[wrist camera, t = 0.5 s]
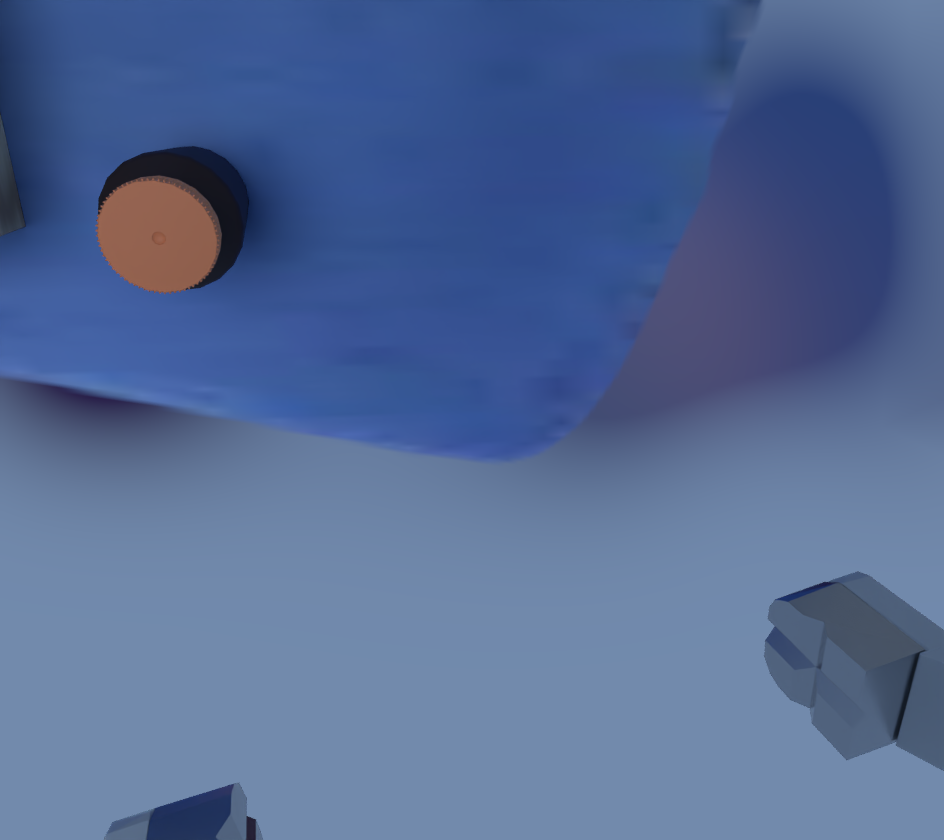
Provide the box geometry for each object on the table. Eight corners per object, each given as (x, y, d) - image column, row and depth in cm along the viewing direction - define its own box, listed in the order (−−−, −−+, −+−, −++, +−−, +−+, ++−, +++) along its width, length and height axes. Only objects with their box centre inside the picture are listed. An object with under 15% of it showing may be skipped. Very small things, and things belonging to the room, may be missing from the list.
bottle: (139, 141, 43) (56, 147, 26) (246, 150, 45) (237, 160, 28) (150, 245, 46) (82, 314, 28) (251, 248, 48) (245, 315, 30)
